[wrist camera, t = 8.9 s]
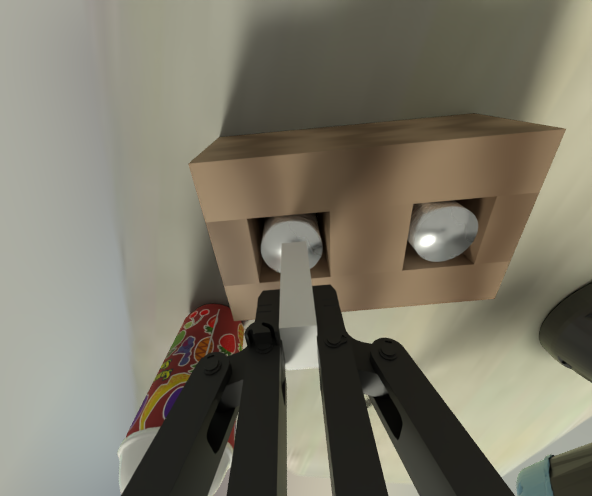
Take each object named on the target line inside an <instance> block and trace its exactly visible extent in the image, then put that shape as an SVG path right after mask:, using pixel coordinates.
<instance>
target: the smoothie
mask: <svg viewBox="0 0 592 496" xmlns="http://www.w3.org/2000/svg"><path fill="white" fill-rule="evenodd" d="M243 336H244V327H243V325H242V322H241V321H234V319H233V315H232V312H231V309H230V308H229V307H227V306H224V305H221V304H207V305H203V306H201V307H199V308H197V309H196V310H195V311H194V312H192V313H191V314H189V315H188V316H187V317H186V318H185V321H184V322H183V324H182V326H181V328H180V330H179V332H178V334H177V336H176V338H175V340H174V342H173V344H172V346H171V348H170V350H169V352H168V354H167V356H166V358H165V360H164V362H163V364H162V366H161V368H160V370H159V372H158V374H157V376H156V378H155V380H154V382H153V384H152V386H151V388H150V390H149V392H148V393H147V395H146V397H145V399H144V401H143V403H142V405H141V407H140V409H139V411H138V413H137V415H136V417H135V419H134V421H133V423H132V425H131V427H130V429H129V431H128V433H127V436H126V438H125V439H124V440H123V442H122V443H121V445H120V448H119V450H118V453H117V455H118V457H119V460H120V467H119V486H120V493H121V495H122V493H123V491H124V489H125V488H126V486H127V484H128V482H129V481H130V479H131V477H132V475H133V474H134V472H135V470H136V469H137V467H138V465H139V463H140V462H141V460H142V458H143V456H144V455H145V453H146V451H147V449H148V448H149V446H150V444H151V443H152V441H153V439H154V437H155V436H156V434H157V432H158V430H159V429H160V427H161V425H162V423H163V422H164V420H165V418H166V417H167V415H168V413H169V411H170V410H171V408H172V406H173V404H174V403H175V401H176V399H177V397H178V396H179V394H180V392H181V391H182V389H183V387H184V385H185V384H186V382H187V380H188V378H189V377H190V375H191V373H192V371H193V370H194V368H195V366H196V365H197V363H198V362H199V361H200V359H201V358H203V357H204V356H205V355H207V354H209V353H212V352H222V353H224V354H226V355H227V356H229V355H232V354H235V353H238V352H240V351H242V347H243ZM236 419H237V418H236ZM235 431H236V420H235V423H234V426H233V428H232V431H231V434H230V437H229V439H228V442H227V445H226V447H225V450H224V453H223V456H222V458H221V461H220V464H219V466H218V469H217V472H216V475H215V477H214V480H213V483H212V485H211V488H210V491H209V493H208V496H213V495H214V494H215V493H216V491H217V490H218V488H219V486H220V485H221V482H222V481H223V479H224V477H225V474H226V472H227V471H228V469H229V468H230V467H231V462H232V455H233V448H234V441H235Z"/></svg>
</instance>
